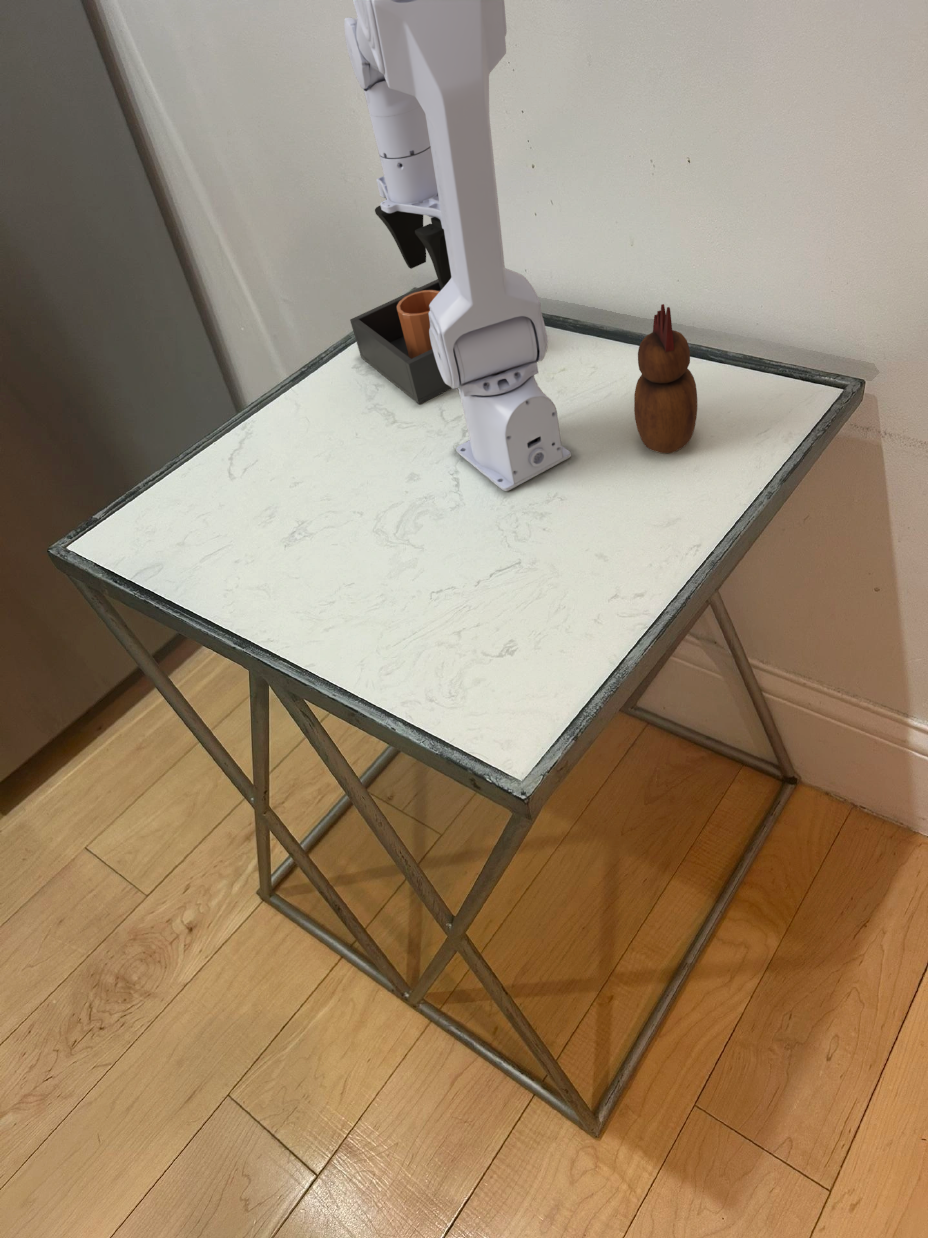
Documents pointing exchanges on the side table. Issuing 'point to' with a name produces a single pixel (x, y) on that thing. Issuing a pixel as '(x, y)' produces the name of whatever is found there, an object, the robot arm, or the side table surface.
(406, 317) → the pot
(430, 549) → the side table surface
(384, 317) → the dark grey storage bin
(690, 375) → the wooden figurine
